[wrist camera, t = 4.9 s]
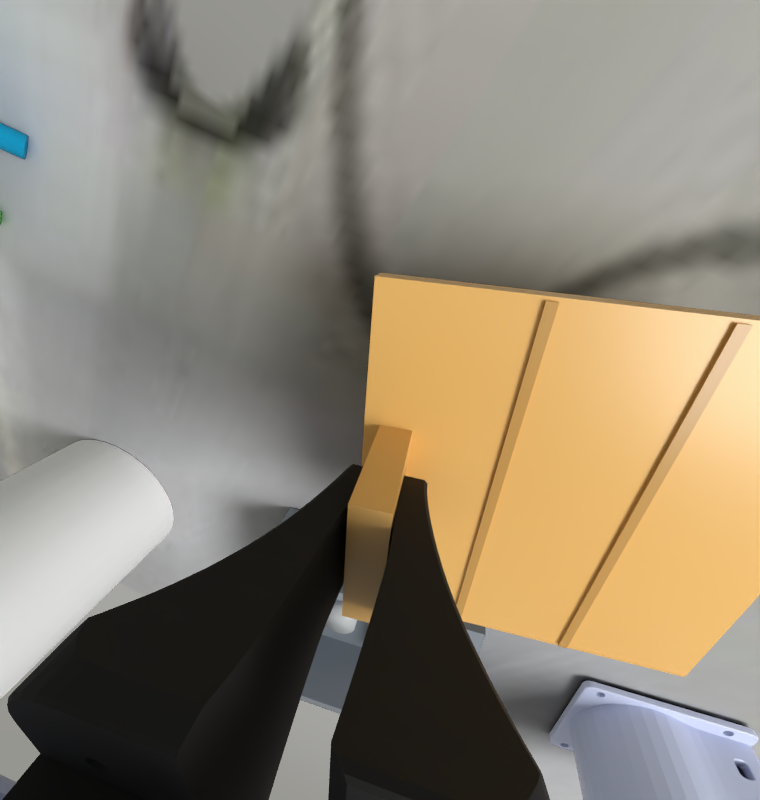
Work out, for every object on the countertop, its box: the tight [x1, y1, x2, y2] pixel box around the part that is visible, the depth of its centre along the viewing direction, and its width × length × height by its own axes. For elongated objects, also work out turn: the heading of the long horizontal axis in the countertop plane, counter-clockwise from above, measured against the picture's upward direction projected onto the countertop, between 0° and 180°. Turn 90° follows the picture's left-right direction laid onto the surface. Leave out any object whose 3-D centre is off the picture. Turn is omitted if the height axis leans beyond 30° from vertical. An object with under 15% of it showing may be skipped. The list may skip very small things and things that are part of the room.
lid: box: [342, 273, 760, 677], centre depth 10 cm, size 13×13×5 cm
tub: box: [279, 508, 485, 714], centre depth 22 cm, size 12×12×4 cm
